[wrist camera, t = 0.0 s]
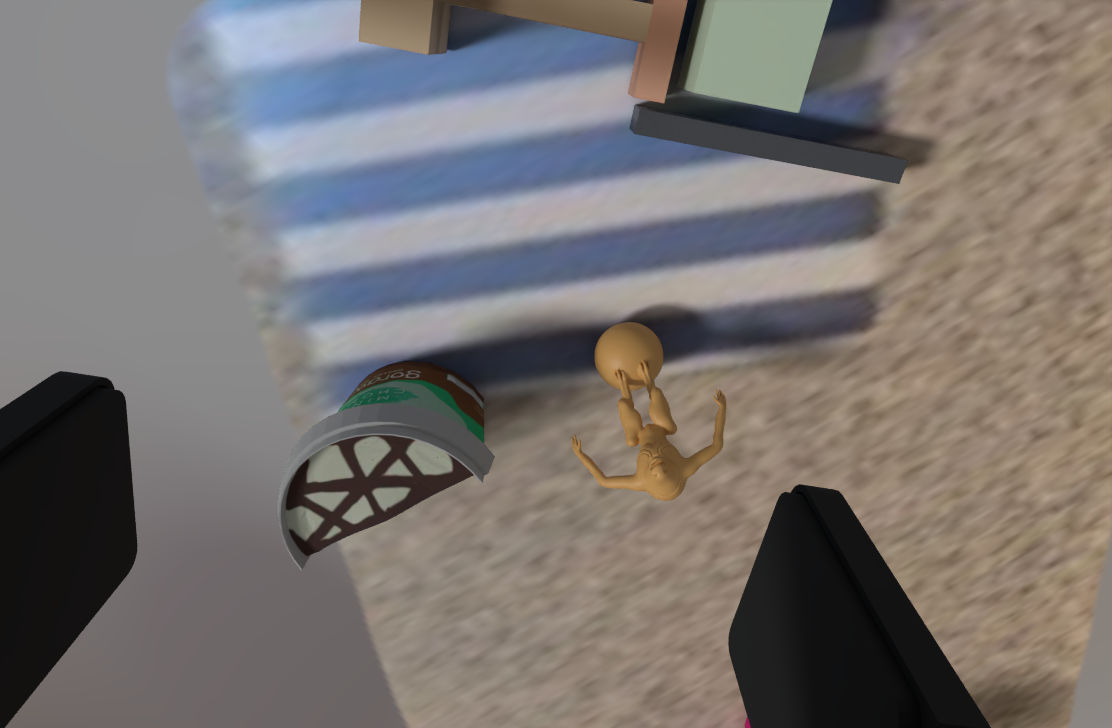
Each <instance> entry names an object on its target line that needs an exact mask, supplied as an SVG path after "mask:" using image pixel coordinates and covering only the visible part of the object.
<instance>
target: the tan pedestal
mask: <svg viewBox="0 0 1112 728" xmlns="http://www.w3.org/2000/svg"><path fill="white" fill-rule="evenodd" d="M687 1H688V0H647V3H643V2H638V1H633V0H361V12H360V29H359V41H360V42H365V43H370V44H375V45H381V46H386V47H391V48H396V49H401V50H406V51H412V52H417V53H422V54H427V55H430V54H442V53H446V52H447V43H448V33H449V24H450V14H451V5H456V6H461V7H466V8H471V9H476V10H481V11H486V12H491V13H496V14H501V15H506V16H511V17H516V18H521V19H526V20H531V21H536V22H541V23H546V24H551V25H556V26H561V27H566V28H571V29H576V30H581V31H586V32H591V33H596V34H601V35H606V36H611V37H616V38H621V39H627V40H632V41H637V42H639V43H638V47H637V52H636V57H635V62H634V67H633V72H632V76H631V81H630V86H629V91H628V94H629V95H631V96H632V97H634V98H639V99H644V100H649V101H654V102H660V103H664V102H665V98H666V93H667V89H668V85H669V80H670V76H671V71H672V67H673V63H674V58H675V54H676V50H677V45H678V41H679V36H680V32H681V28H682V23H683V19H684V14H685V10H686V6H687Z"/></svg>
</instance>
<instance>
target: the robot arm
mask: <svg viewBox="0 0 1112 728" xmlns="http://www.w3.org/2000/svg"><path fill="white" fill-rule="evenodd" d="M136 554H137V535H136V522H135V510H134V498H133V485H132V472H131V459H130V447H129V435H128V422H127V410H126V400H125V396H124V394H123V393H122V392H121V391H119V390H115V389H114V386H113V384H112V382H111V381H110V380H109V379H107V378H104V377H97V376H90V375H84V374H78V373H71V372H63V371H60V372H58V373H55V374H53V375H51V376H50V377H48V378H47V379H45V380H44V381H42V382H41V383H39V384H38V385H36V386H35V387H33V388H32V389H30V390H29V391H27V392H26V393H24V394H23V395H21V396H20V397H18V398H17V399H15V400H14V401H12V402H11V403H9V404H7V405H6V406H5V407H3V408H1V409H0V728H5V727H6V725H7V724H8V723H9V721H10V720H11V719H12V718H13V717H14V715H15V714H16V713H17V711H18V710H19V709H20V708H21V707H22V705H23V704H24V703H25V701H27V699H28V698H29V697H30V695H31V694H32V693H33V692H34V691H35V689H36V688H37V687H38V686H39V684H40V683H41V682H42V681H43V679H44V678H45V677H46V675H47V674H48V673H49V672H50V671H51V669H52V668H53V667H54V666H55V664H56V663H57V662H58V661H59V659H60V658H61V657H62V656H63V654H64V653H65V652H66V651H67V649H68V648H69V647H70V646H71V644H72V643H73V642H74V641H75V640H76V638H77V637H78V636H79V634H80V633H81V632H82V631H83V630H84V628H85V627H86V626H87V625H88V623H89V622H90V621H91V620H92V618H93V617H94V616H95V615H96V613H97V612H98V611H99V610H100V608H101V607H102V606H103V605H104V603H105V602H106V601H107V600H108V598H109V597H110V596H111V595H112V593H113V592H114V591H115V590H116V588H117V587H118V586H119V585H120V584H121V582H122V581H123V580H124V578H125V577H126V576H127V575H128V573H129V572H130V570H131V568H132V566H133V564H134V561H135V558H136ZM729 653H730V657H731V661H732V664H733V667H734V671H735V674H736V678H737V681H738V685H739V688H740V692H741V695H742V699H743V702H744V706H745V709H746V713H747V716H748V720H749V723H750V727H751V728H991V727H990V725H989V724H988V722H987V721H986V719H985V718H984V716H983V714H982V713H981V711H980V710H979V708H978V707H977V705H976V703H975V702H974V700H973V699H972V697H971V696H970V694H969V693H968V691H967V689H966V688H965V686H964V685H963V683H962V682H961V680H960V678H959V677H958V675H957V674H956V672H955V671H954V669H953V667H952V666H951V664H950V663H949V661H948V660H947V658H946V656H945V655H944V653H943V652H942V650H941V649H940V647H939V646H938V644H937V642H936V641H935V639H934V638H933V636H932V635H931V633H930V631H929V630H928V628H927V627H926V625H925V624H924V622H923V620H922V619H921V617H920V616H919V614H918V613H917V611H916V609H915V608H914V606H913V605H912V603H911V602H910V600H909V599H908V597H907V595H906V594H905V592H904V591H903V589H902V588H901V586H900V584H899V583H898V581H897V580H896V578H895V577H894V575H893V573H892V572H891V570H890V569H889V567H888V566H887V564H886V563H885V561H884V559H883V558H882V556H881V555H880V553H879V552H878V550H877V548H876V547H875V545H874V544H873V542H872V541H871V539H870V537H869V536H868V534H867V533H866V531H865V530H864V528H863V526H862V525H861V523H860V522H859V520H858V519H857V517H856V516H855V514H854V512H853V511H852V509H851V508H850V506H849V505H848V503H847V501H846V500H845V498H844V497H843V495H842V494H841V493H840V492H839V491H837V490H833V489H827V488H820V487H814V486H807V485H801V484H799V485H797V486H795V487H794V488H793V490H792V491H791V493H788V492H784V493H782V494H781V495H780V497H779V499H778V501H777V503H776V506H775V509H774V511H773V514H772V517H771V520H770V522H769V525H768V528H767V530H766V533H765V536H764V538H763V541H762V544H761V547H760V549H759V552H758V555H757V557H756V560H755V563H754V565H753V568H752V571H751V573H750V576H749V579H748V582H747V584H746V587H745V590H744V592H743V595H742V598H741V600H740V603H739V606H738V609H737V611H736V614H735V617H734V619H733V622H732V625H731V628H730V632H729Z"/></svg>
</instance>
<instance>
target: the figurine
mask: <svg viewBox="0 0 1112 728" xmlns="http://www.w3.org/2000/svg"><path fill="white" fill-rule="evenodd" d="M595 364H596V368H597V370H598V372H599V374H600V376H601V377H602V378H603V379H604V381H606V382H607V383H608V384H609V385H611V386H613V387H615V388H617V389H620V390H621V392H622V395H623V398H621V399H620V400H619V401H618V408H619V415H620V420H621V423H622V425H623V427H624V430H625V434H626V444H627V445H628V446H630V447H634V446H636V445H638V444H640V443H641V448H640V453H639V455H638V458H637V472H636V473H635V474H634V475H626V476H611V477H606V476H605V475H604V474H603V472H602V471H601V470H600V469H599V468H598V467H597V466H596V464H595V463H594V462H593V461H592V459H591V458H590V457H588V456H587V455H586V454H584V453H583V452H582V451H581V441H580V439H579V443H578V442H577V439H576V436H575V435H574V439H573V437H572V447H573V450H574V451H575V453H576V455H577V456H578V457H579V458H580V460H581V461H582V463H583V464H584V465H585V466H586V467H587V468H588V469H589V471H590V472H591V473H592V474H593V475H594V477H595V478H596V480H597V481H598V483H599V484H600V485H602V486H604V487H608V488H620V489H623V488H627V489H631V490H635V491H646V492H648V493H649V494H651V495H652V496H653V497H654V498H656V499H658V500H663V501H669V500H673V499H675V498H676V497H678V496H679V495H680V494H681V493H682V491H683V490H684V487H685V484H686V481H687V479H688V478H689V477H690V476H691V475H693V474H694V473H695V472H696V471H697V470H698V469H699V467H701V466H702V465H703V464H705V463H706V462H708V461H709V460H710V459H712V458H713V457H714V456H715V455H717V454H718V453H719V452H720V451H721V449H722V447H723V431H724V425H725V413H726V399H725V396H724V394H723V393H722V392H721V390H719V392H720V395H719V392H718V391H717V389H715V391H716V393H717V397H718V399H717V398H716V397H715V396H713V397H714V399H715V401H716V402H717V403H718V405H719V411H718V413H717V416H716V420H715V432H714V436H713V444H712V445H710V446H708V447H706V448H704V449H702V450H701V451H699V452H697V453H696V454H694V455H693V456H691V457H689V458H683V457H682V456H681V455H680V453H679V452H678V450H677V449H676V448H675V447H674V446H673V445H672V444H671V443H670V442H669V441H668V440H667V439H666V437H665V436H666V435H672V434H675V433H676V431H677V426H676V424H675V423H674V421H673V419H672V417H671V413H670V408H669V405H668V402H667V400H666V398H665V397H664V395H663V393H662V391H661V389H659V388H657V387H655V384H654V379H655V378H656V377H657V376H658V374H659V372H660V370H661V368H662V364H663V348H662V345H661V342H660V340H659V339H658V337H657V336H656V334H655V333H654V332H653V331H652V330H650V329H649V328H648V327H646V326H644V325H642V324H639V323H634V322H624V323H619V324H616V325H614V326H612V327H611V328H609V329H608V330H606V331H605V332H604V333H603V335H602V336H601V337H600V339H599V340H598V343H597V345H596V348H595ZM645 386H646V387H647V390H648V393H649V398H650V400H651V402H650V405H649V414H650V417H651V419H652V420H653V422H654V424H647V425H646V426H645V427H644V428H643V426H642V419H641V416H640V414H639V412H638V411H637V410H635V409H634V403H633V400H632V395H631V392H630V391H632V390H638V389H641V388H643V387H645ZM574 441H575V442H574Z"/></svg>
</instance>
